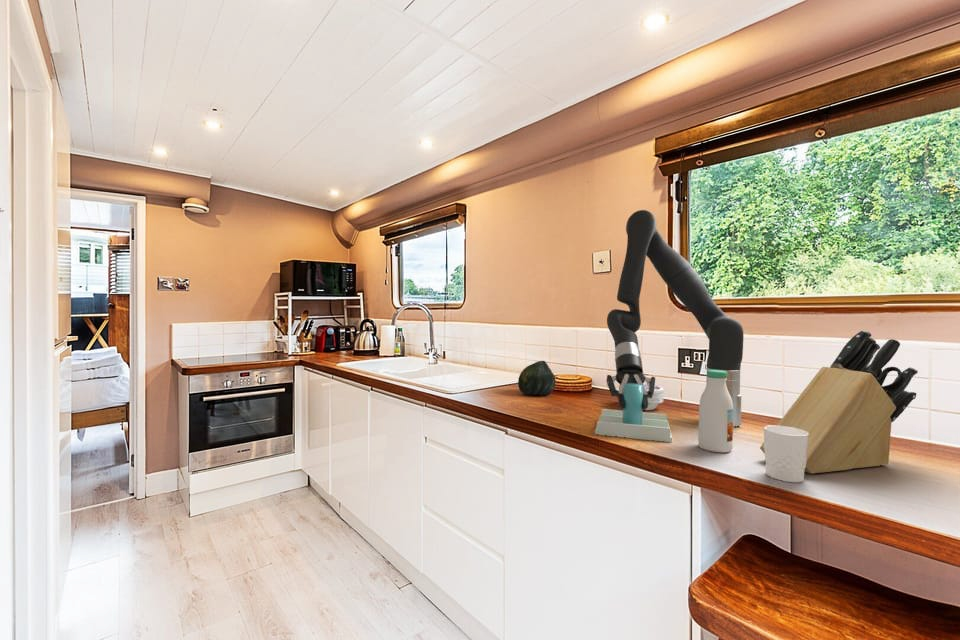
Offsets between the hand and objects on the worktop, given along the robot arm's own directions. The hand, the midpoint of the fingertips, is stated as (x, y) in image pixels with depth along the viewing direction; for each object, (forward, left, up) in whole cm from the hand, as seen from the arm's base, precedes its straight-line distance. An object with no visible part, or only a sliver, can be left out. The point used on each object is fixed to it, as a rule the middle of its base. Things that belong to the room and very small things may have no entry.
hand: (633, 407), depth 124 cm
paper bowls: (-2, -39, -8) cm, 40 cm away
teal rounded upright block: (0, -2, -5) cm, 5 cm away
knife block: (-46, +4, -8) cm, 47 cm away
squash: (+38, -48, -8) cm, 62 cm away
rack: (0, -6, -8) cm, 10 cm away
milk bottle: (-20, +4, -8) cm, 22 cm away
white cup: (-31, +20, -8) cm, 38 cm away
